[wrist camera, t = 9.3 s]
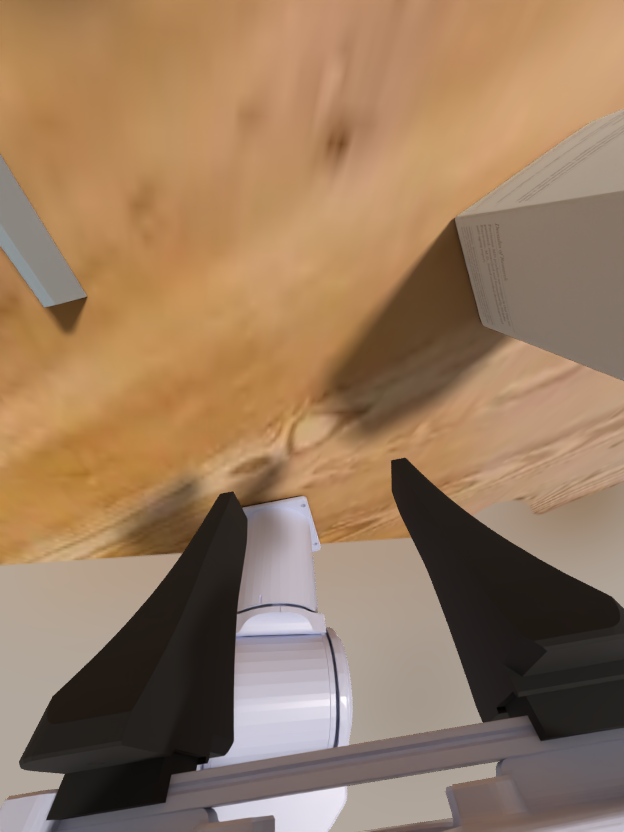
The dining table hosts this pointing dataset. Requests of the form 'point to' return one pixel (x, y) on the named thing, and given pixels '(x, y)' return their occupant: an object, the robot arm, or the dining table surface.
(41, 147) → the dining table surface
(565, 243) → the supplement box
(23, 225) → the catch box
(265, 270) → the dining table surface
